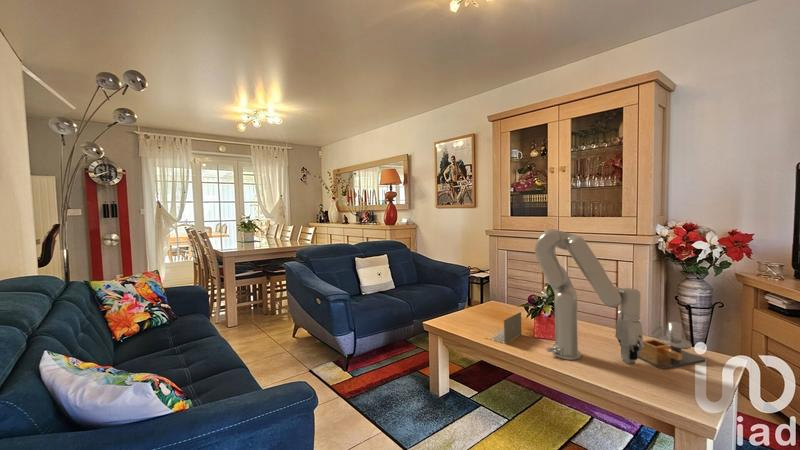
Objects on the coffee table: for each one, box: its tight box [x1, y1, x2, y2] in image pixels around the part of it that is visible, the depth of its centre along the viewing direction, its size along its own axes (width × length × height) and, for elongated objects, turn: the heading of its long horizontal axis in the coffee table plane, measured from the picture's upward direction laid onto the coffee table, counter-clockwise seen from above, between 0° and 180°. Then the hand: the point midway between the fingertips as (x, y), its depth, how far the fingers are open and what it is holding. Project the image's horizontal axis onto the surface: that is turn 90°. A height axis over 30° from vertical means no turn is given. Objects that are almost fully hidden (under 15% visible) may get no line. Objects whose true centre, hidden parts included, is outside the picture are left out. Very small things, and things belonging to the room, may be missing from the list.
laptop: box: [491, 311, 523, 345], centre depth 191 cm, size 18×12×13 cm
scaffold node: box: [637, 320, 706, 370], centre depth 158 cm, size 24×20×15 cm
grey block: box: [620, 341, 638, 364], centre depth 155 cm, size 4×4×9 cm
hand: (628, 356), depth 155 cm, fingers closed on grey block, 4 cm apart
